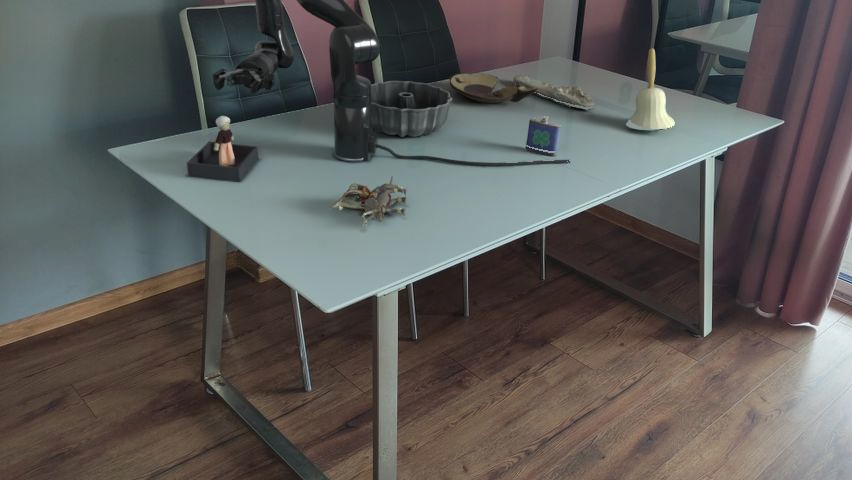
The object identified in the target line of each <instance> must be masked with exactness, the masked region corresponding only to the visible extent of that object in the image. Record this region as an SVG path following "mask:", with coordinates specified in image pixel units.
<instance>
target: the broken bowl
mask: <svg viewBox="0 0 852 480" xmlns="http://www.w3.org/2000/svg"><path fill="white" fill-rule="evenodd" d="M448 80H449V86H450V87H451V88H452V89H453V90H455V91H456V92H458V93H459V94H461V95H463V96H464V97H466V98H468V99H471V100H472V101H476V102H478V103H485V104H488V103H489V104H496V103H497V104H498V103H505V102H512V103H518V102H521V101H522V100H524V99H526V98H528V97H529V96H531V95H533V94H534V92H536V91H537V90H538V88H532V89H527V88H525V87H524V86H520V87H518V86H516V85H513V84H508V85H506V86H505V87H502V88H500V89H497V90H495V91H493V90H494V89H495V87H496V85H497V83H498V81H499V77H498V76H495V75H493V74H488V73H487V74H486V73H480V72H470V73H469V72H464V73H455V74H453V75H451V76H448ZM490 94H491V95H492V97H490V96H489V97H488V95H490ZM493 96H494V97H493Z"/></svg>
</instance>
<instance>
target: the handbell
mask: <svg viewBox="0 0 852 480" xmlns="http://www.w3.org/2000/svg"><path fill="white" fill-rule="evenodd" d="M656 61H657V60H656V51H655V48H653V47H651V48H649V50H648V55H647V64H646V65H647V66H646V69H647V70H646V71H647V73H646V74H647V82H648V86H647V87H644V88H642V89H640V90H639V91H638V93H637V94H636V97H635V111H634V113H633V114H632V115H631V117H629V119H630V120H631V122H632V123H634V124H636V125H638V126H641V127H645V128H651V129H665V130H668V129H667V128H669V129H671V128H673V127H674V126H675V123H676V122H675V120H674V119H673V118H672V117H671V116H670V115H669V113H667V110H666V103H667V102H666V101H667V100H666V93H665V91H664V90H663V89H661V88H659V87H656V86H654V85H655V78H656V72H657V71H656V68H657V67H656ZM672 126H673V127H672ZM670 127H671V128H670Z"/></svg>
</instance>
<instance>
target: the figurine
mask: <svg viewBox="0 0 852 480" xmlns="http://www.w3.org/2000/svg"><path fill="white" fill-rule="evenodd" d="M393 179H394V177H393V175H392V176H391V177H390V181H389V183H383V184H381V185H378V186H376V187H375V188H373V189H372V190H371V189H369V188H368V185H363V184H358V183H351V184H350V185H349V188H348V189H347V190H346V191H345V192H344V193H343V194H342V195H341V197H340V198H339V199H338V200H337V201H335V203H333V204H332V205H331V206H329V210H331V209H336V208H337V209H338V211H342V210H344V208H347V209H350V210H351V209H352V210H356V211H359V210H361V211H360V214H362V212H363V211H364V212H363V214H362V218H363V219H364V220H363V222H362V228H366V227H367V226H368V224H367V223H368V222H369V221H370V220H371V219H374V220H377V221H379V222H383V221H385V214H390V213H392V214H394V213H398V214H402V215H403V216H406V208H402V207H399V208H391V206H393V205H395V204H397V203H398V204H401V203H404V204H405V205H406V204H407V188H403V186H401V185H396V184H393ZM398 193H401V194H403V195H404V196H398V197H396V198H395V197H394V198H392V195H391V194H398ZM367 215H368V217H367V218H365V216H367Z"/></svg>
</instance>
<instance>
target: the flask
mask: <svg viewBox="0 0 852 480" xmlns="http://www.w3.org/2000/svg"><path fill="white" fill-rule="evenodd" d="M549 119H550V117H549V115H543V116H542V118H538V117H535V118H534V117H533V118H529V121H528V129H527V136H526V143H525V151H527V152H531V153H534V154H540V155H543V156H548V157H557V155H558V150H559V149H558V148H559V141H560V135H561V129H562V126H561V123H560V124H559V123H555V122H550V121H548V120H549ZM526 145H528V146H530V147H534V148H538V149H543V150H548V151H557V153H548V152H543V151H539V150H535V149H532V148H529V147H527V146H526Z"/></svg>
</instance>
